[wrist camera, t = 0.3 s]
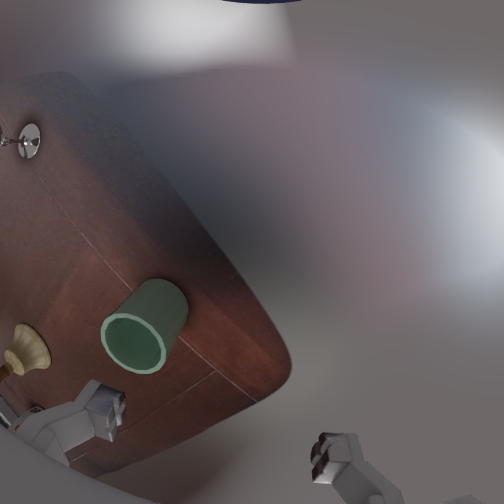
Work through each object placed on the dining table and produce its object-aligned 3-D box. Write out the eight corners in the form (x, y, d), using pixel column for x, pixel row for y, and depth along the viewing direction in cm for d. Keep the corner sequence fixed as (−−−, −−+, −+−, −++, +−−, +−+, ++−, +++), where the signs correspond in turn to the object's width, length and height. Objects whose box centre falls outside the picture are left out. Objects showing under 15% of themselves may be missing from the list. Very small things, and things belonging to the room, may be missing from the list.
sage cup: (136, 271, 30) (99, 304, 22) (192, 286, 30) (168, 325, 22) (133, 321, 31) (102, 360, 24) (185, 336, 31) (163, 381, 24)
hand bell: (17, 351, 36) (-36, 403, 20) (13, 314, 33) (-52, 365, 18) (52, 375, 36) (1, 437, 21) (50, 339, 34) (-15, 404, 18)
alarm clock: (38, 452, 42) (15, 453, 43) (46, 441, 46) (22, 443, 48) (-10, 399, 38) (-26, 406, 40) (-1, 388, 42) (-18, 397, 44)
